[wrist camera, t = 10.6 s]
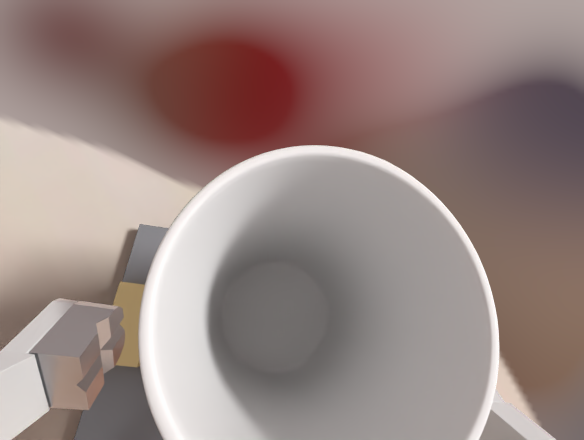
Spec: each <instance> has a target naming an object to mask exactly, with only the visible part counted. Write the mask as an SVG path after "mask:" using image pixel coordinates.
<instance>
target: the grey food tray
mask: <svg viewBox="0 0 584 440" xmlns="http://www.w3.org/2000/svg"><path fill="white" fill-rule="evenodd" d="M168 229H169V228H162V227H156V226H149V225H143V224H140V225H139V228H138V232H137V235H136V238H135V241H134V245H133V248H132V251H131V254H130V258H129V261H128V264H127V268H126V271H125V274H124V277H123V281H122V282H120V283H119V286H118V289H117V293H116V296H115V299H114V302H113V306H119V307H121V308H123V315H124V318H123V319H122V321H121V323H120V325H121V326H122V327H123V329H124V330H125V342H124V347H123V349H122V352H121V355H120V357H119V359H118V361H117V363H116V365H115V366H114V367H113V368H112V369H110V370H109V371H107V372H106V373H104V374H103V375H104V383H105V384H104V385H103V387H102V389H101V390H100V392H99V394H98V395H97V397H96V399H95V401H94V402H93V404H92V406H91V407H90V409H89V410H83V412H82V415H81V418H80V422H79V425H78V428H77V431H76V435H75V438H74V440H163V438H162V436H161V434H160V432H159V430H158V428H157V426H156V423H155V421H154V418H153V416H152V413H151V410H150V407H149V404H148V401H147V397H146V394H145V390H144V385H143V381H142V375H141V369H140V361H139V349H138V327H139V314H140V307H141V301H142V295H143V291H144V286H145V282H146V279H147V275H148V272H149V269H150V266H151V264H152V261H153V259H154V256H155V254H156V252H157V249H158V247H159V245H160V243H161V241H162V239H163V238H164V236H165V234H166V232H167V231H168Z"/></svg>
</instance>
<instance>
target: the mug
mask: <svg viewBox="0 0 584 440" xmlns="http://www.w3.org/2000/svg"><path fill="white" fill-rule="evenodd" d="M138 349H139V361H140V369H141V375H142V381H143V385H144V390H145V394H146V397H147V401H148V404H149V407H150V410H151V413H152V416H153V418H154V421H155V423H156V426H157V428H158V430H159V432H160V434H161V436H162V438H163V440H479V438H480V436H481V434H482V432H483V429H484V427H485V424H486V421H487V419H488V416H489V413H490V409H491V406H492V402H493V398H494V394H495V389H496V383H497V376H498V366H499V332H498V322H497V315H496V310H495V304H494V300H493V296H492V292H491V288H490V285H489V282H488V279H487V276H486V273H485V271H484V268H483V266H482V263H481V261H480V259H479V257H478V255H477V253H476V251H475V249H474V247H473V245H472V243H471V241H470V240H469V238H468V236H467V235H466V233H465V231H464V230H463V228H462V227H461V226H460V224H459V223H458V221H457V220H456V219H455V217H454V216H453V215H452V214H451V212H450V211H449V210H448V209H447V208H446V207H445V205H444V204H443V203H442V202H441V201H440V200H439V199H438V198H437V197H436V196H435V195H434V194H433V193H432V192H431V191H429V190H428V189H427V188H426V187H425V186H424V185H422V184H421V183H420V182H419V181H417V180H416V179H414V178H413V177H412V176H410V175H409V174H407V173H406V172H404V171H403V170H401V169H399V168H398V167H396V166H394V165H393V164H391V163H389V162H387V161H384V160H382V159H380V158H377V157H375V156H372V155H369V154H366V153H363V152H359V151H355V150H351V149H346V148H341V147H333V146H320V145H317V146H316V145H313V146H312V145H310V146H296V147H288V148H283V149H278V150H274V151H270V152H267V153H263V154H260V155H258V156H255V157H252V158H250V159H247V160H245V161H243V162H241V163H239V164H237V165H235V166H233V167H232V168H230V169H228V170H227V171H225V172H224V173H222V174H220V175H219V176H218V177H216V178H215V179H213V180H212V181H211V182H210V183H208V184H207V185H206V186H205V187H204V188H202V189H201V190H200V191H199V192H198V193H197V194H196V195H195V196H194V197H193V198H192V199H191V200H190V201H189V202H188V203H187V205H186V206H185V207H184V208H183V209H182V211H181V212H180V213H179V214H178V216H177V217H176V219H175V220H174V221H173V223H172V224H171V226H170V227H169V229H168V231H167V232H166V234H165V236H164V238H163V239H162V241H161V243H160V245H159V247H158V249H157V252H156V254H155V256H154V259H153V261H152V264H151V266H150V269H149V272H148V275H147V279H146V282H145V286H144V291H143V295H142V301H141V307H140V314H139V327H138Z"/></svg>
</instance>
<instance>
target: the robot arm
mask: <svg viewBox="0 0 584 440" xmlns="http://www.w3.org/2000/svg"><path fill="white" fill-rule="evenodd" d="M123 318H124V315H123V308H121V307H119V306H112V305H106V304H99V303H92V302H85V301H76V300H69V299H62V298H59V299H56V300H54V301H52V302H51V303H50V304H49V305H48V306H47V307H46V308H45V309H44V310H42V311H41V312H40V313H39V314H38V315H37V316H36V317H35V318H34V319H33V320H32V321H31V322H30V323H29V324H28V325H27V326H26V327H25V328H24V329H23V330H22V331H21V332H20V333H19V334H18V335H17V336H16V337H14V338H13V339H12V340H11V341H10V342H9V343H8V344H7V345H6V346H5V347H4V348H3V349H2V350H1V351H0V440H12V439H13V438H14V437H16V436H17V435H18V434H19V433H21V432H22V431H23V430H25V429H26V428H27V427H29V426H30V425H31V424H32V423H34V422H35V421H36V420H38V419H39V418H40V417H42V416H43V415H44V414H45V413H47V412H48V411H49V410H50V409H49V408H60V409H77V410H89V409H90V407H91V406H92V404H93V402H94V401H95V399H96V397H97V395H98V394H99V392H100V390H101V389H102V387H103V385H104V384H105V383H104V375H103V374H104V373H106V372H107V371H109V370H110V369H112V368H113V367H114V366H115V365H116V363H117V361H118V359H119V357H120V355H121V352H122V349H123V347H124V342H125V330H124V329H123V327H122V326H121V325H120V323H121V321H122V319H123ZM479 440H556V439H555V438H553V437H552V436H551V435H549V434H548V433H547V432H546V431H545V430H543V429H542V428H541V427H540V426H538V425H537V424H536V423H535V422H533V421H532V420H531V419H530V418H528V417H527V416H526V415H525V414H523V413H522V412H521V411H520V410H518V409H517V408H516V407H514V406H513V405H512V404H511V403H505V402H504V400H503V399H502V397H501V396H500V394H499V393H498V391H497V390H496V389H495V394H494V398H493V402H492V406H491V409H490V413H489V416H488V419H487V421H486V424H485V427H484V429H483V432H482V434H481V436H480V438H479Z"/></svg>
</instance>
